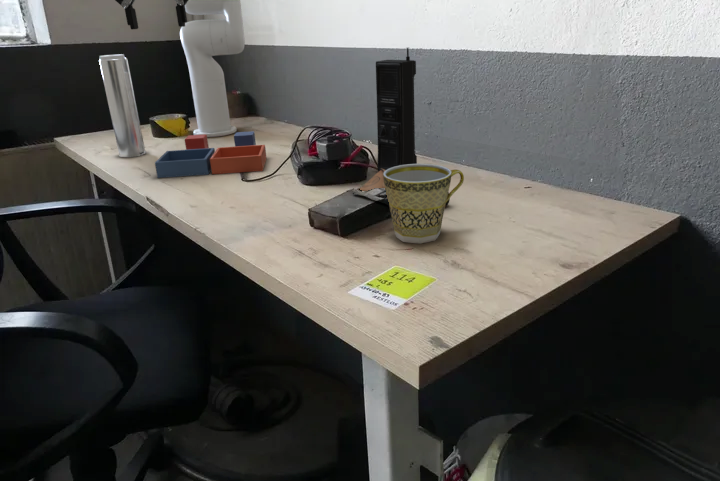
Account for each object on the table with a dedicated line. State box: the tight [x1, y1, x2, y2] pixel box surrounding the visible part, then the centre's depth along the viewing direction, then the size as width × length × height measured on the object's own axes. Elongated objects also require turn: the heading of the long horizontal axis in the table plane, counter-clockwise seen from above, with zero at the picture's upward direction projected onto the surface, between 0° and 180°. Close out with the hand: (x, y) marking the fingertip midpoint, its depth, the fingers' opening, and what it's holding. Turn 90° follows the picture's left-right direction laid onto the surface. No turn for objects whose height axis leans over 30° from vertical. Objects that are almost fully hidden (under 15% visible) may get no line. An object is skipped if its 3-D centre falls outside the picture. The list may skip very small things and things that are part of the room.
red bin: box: [210, 144, 267, 175], centre depth 132 cm, size 11×11×4 cm
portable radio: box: [375, 47, 418, 172], centre depth 117 cm, size 8×6×25 cm
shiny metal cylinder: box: [98, 53, 146, 158], centre depth 144 cm, size 6×6×25 cm
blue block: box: [233, 130, 257, 147], centre depth 143 cm, size 5×5×5 cm
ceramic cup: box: [383, 163, 465, 245], centre depth 86 cm, size 13×10×10 cm
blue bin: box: [154, 147, 216, 179], centre depth 131 cm, size 11×11×4 cm
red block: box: [184, 134, 210, 150], centre depth 143 cm, size 5×5×5 cm
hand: (158, 27), depth 117 cm, fingers open, 9 cm apart
